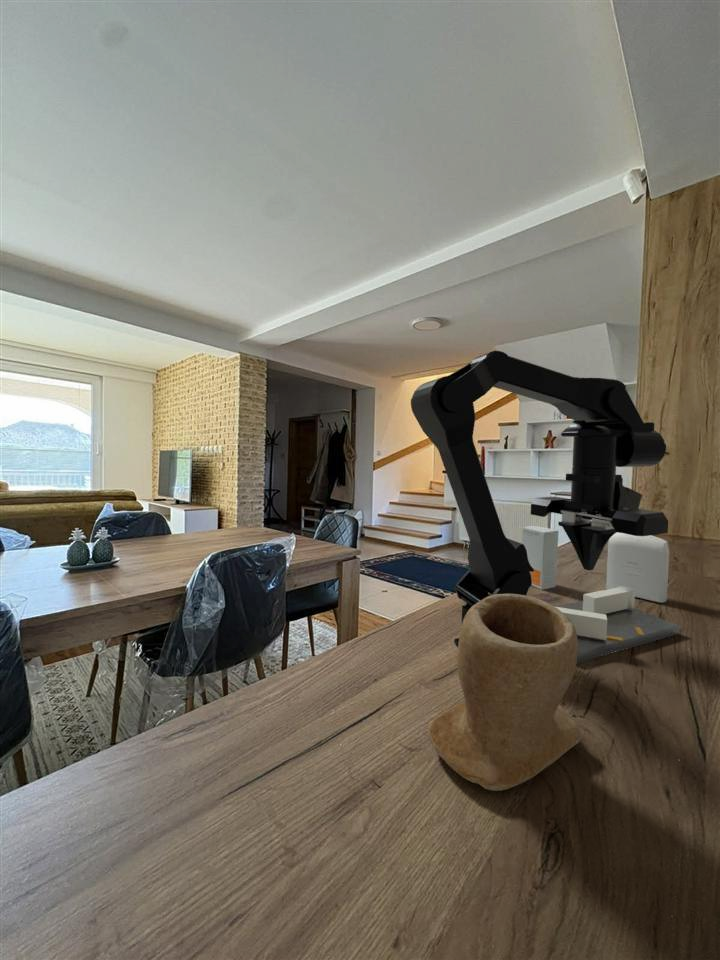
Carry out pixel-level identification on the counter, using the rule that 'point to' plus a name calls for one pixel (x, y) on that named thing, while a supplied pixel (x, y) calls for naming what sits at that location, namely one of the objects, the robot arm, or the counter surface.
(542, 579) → the skincare box
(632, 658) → the counter surface
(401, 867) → the counter surface
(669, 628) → the levelling base
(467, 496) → the robot arm
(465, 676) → the stone cup
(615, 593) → the off-white long bar
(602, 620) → the white rectangular block
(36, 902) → the counter surface
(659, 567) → the photo printer
